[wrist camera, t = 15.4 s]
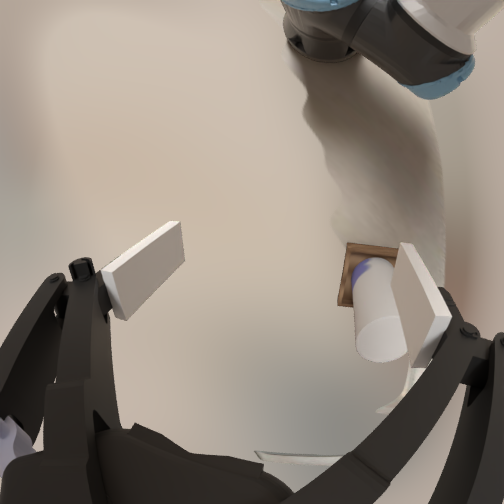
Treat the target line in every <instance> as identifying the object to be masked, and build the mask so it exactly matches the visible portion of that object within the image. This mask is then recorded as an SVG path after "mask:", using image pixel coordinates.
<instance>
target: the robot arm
mask: <svg viewBox="0 0 504 504" xmlns="http://www.w3.org/2000/svg"><path fill="white" fill-rule="evenodd" d="M281 2H282V4H283V7H284V9H285V11H286V13H285V16H284V20H283V28H284V32H285V35H286V37H287V39H288V41H289V43H290V44H291V46H292V47H293V48H294V49H295V50H296V51H297V52H299V53H300V54H302V55H303V56H305V57H307V58H309V59H312V60H315V61H319V62H326V63H333V62H340V61H344V60H346V59H349V58H350V57H352V56H354V55H355V54H356V53H357V52H358V53H360V54H361V55H363V56H364V57H365V58H367V59H368V60H370V61H371V62H373V63H374V64H375V65H377V66H378V67H380V68H381V69H382V70H384V71H385V72H386V73H388V74H389V75H390V76H391V77H393V78H394V79H395V80H396V81H397V82H398V83H399V84H400V85H402V86H404V87H406V88H407V89H409V90H410V91H411V92H413V93H414V94H415V95H416V96H418V97H420V98H422V99H426V100H432V99H437V98H440V97H442V96H445V95H446V94H448V93H450V92H452V91H453V90H454V89H456V88H457V87H458V86H459V85H460V82H462V81H464V80H466V79H467V78H468V76H469V75H470V74H471V72H472V70H473V69H474V66H475V58H474V56H473V53H474V52H475V51H476V40H475V33H476V32H477V31H478V30H480V29H481V27H483V26H484V25H485V24H486V23H488V22H489V21H490V20H491V19H492V18H493V17H494V16H496V15H497V14H498V13H499V12H500V11H501V10H502V9H504V0H281ZM184 261H185V257H184V249H183V241H182V232H181V223H180V222H178V221H169V222H168V223H166V224H165V225H163V226H162V227H160V228H159V229H157V230H156V231H154V232H153V233H152V234H150V235H149V236H147V237H146V238H144V239H143V240H142V241H140V242H139V243H137V244H136V245H134V246H133V247H131V248H130V249H129V250H127V251H126V252H124V253H123V254H122V255H120V256H118V257H117V258H116V259H114V260H113V261H112V262H110V263H109V264H108V265H106V266H105V267H103V268H102V269H101V270H99V271H98V272H97V273H95V270H94V266H93V263H92V259H91V258H87V257H84V258H80V259H77V260H75V261H73V262H72V263H70V264H69V270H70V273H71V276H72V279H73V281H72V282H66V279H65V276H64V274H63V273H54V274H52V275H50V276H49V277H47V278H46V279H45V281H44V282H43V283H42V285H41V286H40V287H39V289H38V290H37V291H36V293H35V294H34V296H33V297H32V298H31V300H30V301H29V303H28V304H27V306H26V307H25V309H24V310H23V312H22V313H21V315H20V316H19V318H18V319H17V321H16V323H15V324H14V326H13V327H12V329H11V331H10V332H9V334H8V336H7V337H6V339H5V341H4V342H3V344H2V346H1V348H0V477H1V478H2V484H1V492H0V504H373V503H374V502H375V501H376V500H377V499H378V498H379V497H380V496H381V495H382V494H383V493H384V492H385V490H386V489H387V488H388V487H389V486H390V482H391V481H392V480H393V478H394V477H395V476H396V475H397V474H398V473H399V471H400V470H401V469H402V468H403V467H404V466H405V464H406V463H407V462H408V461H409V460H410V458H411V457H412V456H413V454H414V453H415V452H416V451H417V449H418V448H419V446H420V445H421V444H422V443H423V441H424V440H425V438H426V437H427V436H428V434H429V433H430V431H431V430H432V428H433V427H434V425H435V424H436V422H437V421H438V419H439V418H440V416H441V415H442V413H443V411H444V410H445V408H446V406H447V405H448V403H449V401H450V400H451V398H452V396H453V394H454V393H455V391H456V389H457V387H458V385H459V383H462V384H465V385H467V386H466V392H465V397H464V402H463V406H462V410H461V415H460V418H459V422H458V426H457V430H456V433H455V437H454V440H453V443H452V446H451V449H450V452H449V455H448V458H447V461H446V464H445V466H444V469H443V472H442V474H441V476H440V479H439V481H438V483H437V486H436V488H435V491H434V493H433V495H432V497H431V499H430V501H429V503H428V504H502V502H503V499H504V333H503V332H500V333H497V335H495V337H494V339H493V341H491V340H487V339H483V338H481V337H480V333H479V331H478V329H477V328H476V327H475V326H473V325H472V324H470V323H467V322H464V320H463V318H462V316H461V314H460V312H459V310H458V308H457V307H456V304H455V302H454V301H453V299H452V297H451V295H450V294H449V292H447V291H446V290H445V289H444V288H443V287H437V286H436V284H435V282H434V280H433V278H432V277H431V275H430V273H429V271H428V269H427V268H426V266H425V264H424V262H423V261H422V259H421V257H420V256H419V254H418V252H417V251H416V249H415V247H414V246H413V244H410V243H402V242H400V246H399V250H398V255H397V259H396V264H395V268H394V272H393V276H392V280H391V284H390V285H391V289H392V292H393V295H394V299H395V302H396V306H397V309H398V313H399V317H400V321H401V325H402V329H403V333H404V337H405V341H406V346H407V350H408V355H409V359H410V364H411V368H426V370H425V371H424V372H423V374H422V375H421V376H420V378H419V379H418V380H417V382H416V383H415V384H414V385H413V387H412V388H411V389H410V390H409V392H408V393H407V394H406V395H405V397H404V398H403V399H402V400H401V401H400V402H399V404H398V405H397V406H396V407H395V408H394V409H393V410H392V412H391V413H390V414H389V415H388V416H387V417H386V418H385V419H384V420H383V421H382V423H381V424H380V425H379V426H378V427H377V428H376V429H375V430H374V431H373V432H372V433H371V434H370V435H369V436H368V437H367V438H366V439H365V440H364V441H363V442H361V444H359V445H358V446H357V447H356V448H355V449H354V450H353V451H351V452H348V453H347V454H346V455H344V456H343V457H342V458H341V459H339V460H338V461H337V462H336V463H334V464H333V465H332V466H331V467H330V468H328V469H327V470H326V471H325V472H323V473H322V474H321V475H319V476H318V477H317V478H315V479H314V480H313V481H311V482H310V483H309V484H308V485H306V486H305V487H303V488H302V489H300V490H299V491H297V492H296V493H293V492H292V490H291V489H290V488H289V487H288V486H287V485H286V484H285V483H283V482H282V481H281V480H279V479H278V478H276V477H274V476H273V475H271V474H269V473H266V472H264V471H263V467H264V464H261V463H256V462H251V461H247V460H242V459H238V458H234V457H230V456H217V455H204V454H194V453H189V452H188V451H186V450H184V449H183V448H181V447H180V446H178V445H177V444H175V443H174V442H172V441H171V440H169V439H168V438H167V437H165V436H164V435H162V434H160V433H158V432H155V431H153V430H150V429H148V428H146V427H143V426H141V425H139V424H137V423H134V425H133V426H132V428H131V429H122V426H121V424H120V420H119V413H118V407H117V400H116V393H115V384H114V375H113V364H112V351H111V332H110V317H109V314H108V312H109V311H110V310H111V309H113V312H114V315H115V317H116V318H119V319H122V320H125V321H127V320H128V319H129V318H130V317H131V316H132V315H133V314H134V313H135V312H136V311H137V310H138V308H139V307H140V306H141V305H142V304H143V303H144V302H145V301H146V300H147V299H148V298H149V297H150V296H151V295H152V294H153V293H154V292H155V291H156V290H157V289H158V288H159V287H160V286H161V285H162V284H163V283H164V282H165V280H167V279H168V277H170V276H171V275H172V273H173V272H174V271H175V270H176V269H177V268H178V267H179V266H180V265H181V264H182V263H183V262H184ZM54 310H55V312H56V314H57V315H56V317H55V314H54ZM431 359H433V360H432V361H431ZM430 361H431V363H430V364H429V362H430ZM428 364H429V366H428ZM427 366H428V367H427ZM55 378H56V383H54V381H55ZM43 417H44V427H43V428H44V429H43V430H44V431H43V444H44V450H43V451H39V452H36V451H35V450H34V449H33V448H32V446H33V445H34V443H35V441H36V438H37V436H38V433H39V431H40V427H41V424H42V421H43Z"/></svg>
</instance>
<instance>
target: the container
mask: <svg viewBox="0 0 504 504" xmlns="http://www.w3.org/2000/svg"><path fill="white" fill-rule="evenodd" d="M393 272H394V267H393V265H392V264H391V263H390V262H389V261H387V260H385V259H383V258H379V257H373V258H368V259H365V260H363V261H362V262H360V263H359V264H358V265H357V266H356V267H355V269H354V271H353V273H352V277H351V283H352V294H353V306H354V319H355V339H356V349H357V352H358V353H359V355H360V356H361V357H363V358H364V359H366V360H368V361H371V362H379V363H382V362H389V361H392V360H395V359H397V358H399V357H401V356H403V355H404V354H405V353H407V352H408V350H407V346H406V341H405V337H404V333H403V329H402V325H401V321H400V317H399V313H398V309H397V306H396V302H395V299H394V295H393V292H392V289H391V285H390V284H391V280H392V276H393Z"/></svg>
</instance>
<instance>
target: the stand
mask: <svg viewBox="0 0 504 504" xmlns="http://www.w3.org/2000/svg"><path fill="white" fill-rule="evenodd" d="M398 250H399V249H396V248H388V247H380V246H371V245H363V244H355V243H347V248H346V254H345V261H344V267H343V273H342V278H341V284H340V289H339V295H338V306H345V307H354V306H353V294H352V283H351V277H352V273H353V271H354V269H355V267H356V266H357V265H358V264H359V263H360V262H362V261H363V260H365V259H368V258H373V257H379V258H383V259H385V260H387V261H389V262H390V263H391V264H392V265H393V267H394V268H395V264H396V259H397V255H398Z"/></svg>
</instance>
